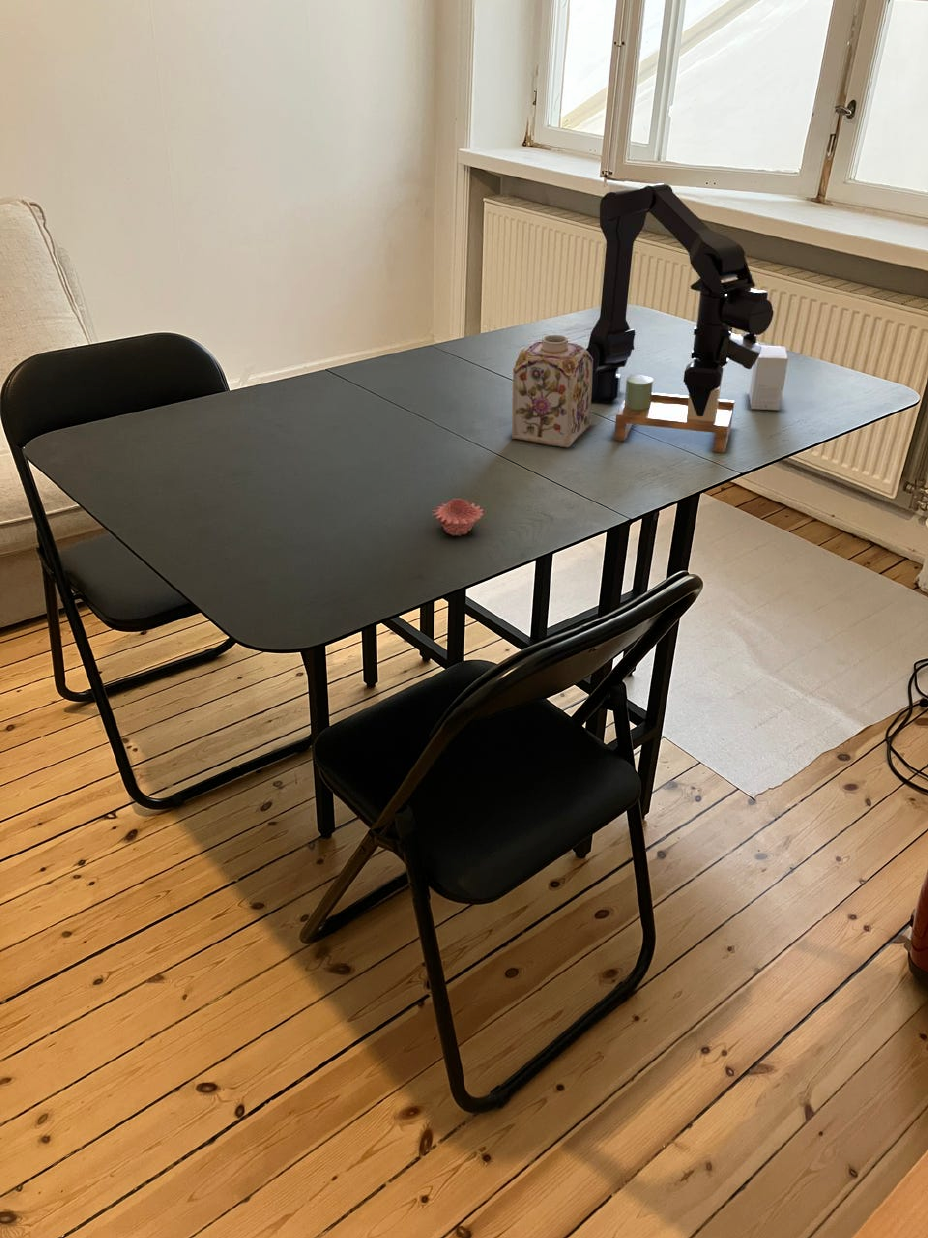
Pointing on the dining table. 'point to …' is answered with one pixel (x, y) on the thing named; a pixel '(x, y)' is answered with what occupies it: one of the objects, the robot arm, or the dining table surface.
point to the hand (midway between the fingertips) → (702, 406)
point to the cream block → (710, 407)
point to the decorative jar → (552, 392)
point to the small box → (768, 378)
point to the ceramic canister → (638, 392)
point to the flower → (458, 516)
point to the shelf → (675, 418)
